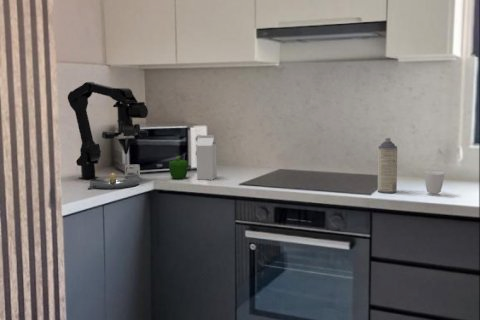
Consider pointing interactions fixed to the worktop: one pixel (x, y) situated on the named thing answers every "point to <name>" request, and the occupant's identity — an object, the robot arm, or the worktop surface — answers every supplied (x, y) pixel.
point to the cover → (132, 170)
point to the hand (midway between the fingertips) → (125, 154)
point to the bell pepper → (178, 168)
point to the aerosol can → (387, 167)
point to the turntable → (114, 182)
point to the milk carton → (206, 157)
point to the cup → (434, 182)
